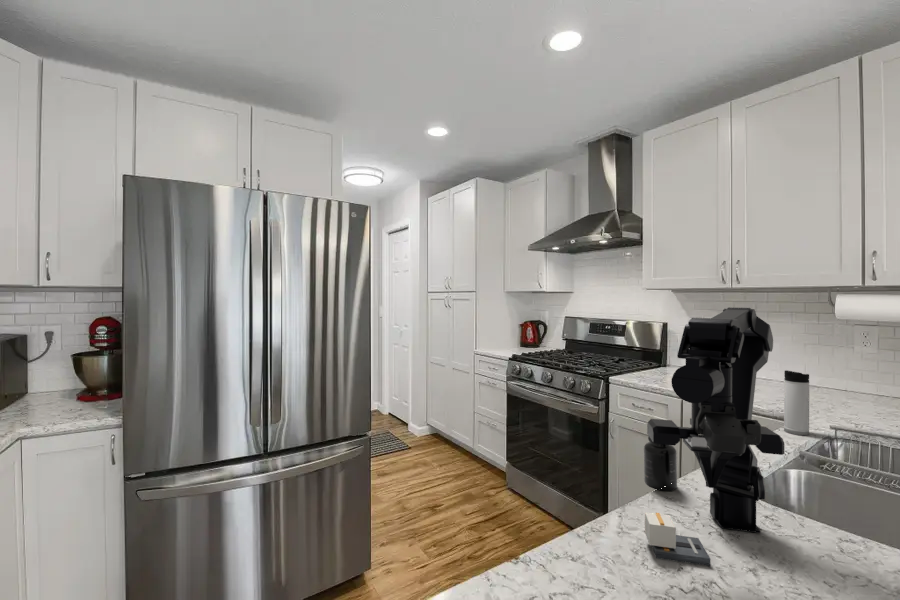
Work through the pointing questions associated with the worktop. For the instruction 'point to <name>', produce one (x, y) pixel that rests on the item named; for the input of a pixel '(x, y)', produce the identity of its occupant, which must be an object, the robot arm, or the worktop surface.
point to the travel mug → (796, 403)
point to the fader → (660, 530)
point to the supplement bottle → (660, 466)
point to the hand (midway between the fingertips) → (710, 487)
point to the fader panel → (684, 551)
